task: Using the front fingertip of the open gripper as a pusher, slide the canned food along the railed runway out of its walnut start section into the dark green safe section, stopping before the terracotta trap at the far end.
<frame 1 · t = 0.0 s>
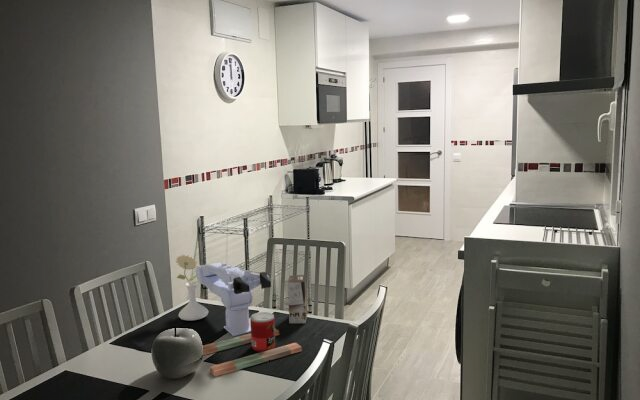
hand: (259, 286, 171), 22 cm above the table, tool horizontal, fingers open, 7 cm apart
flower in vase: (192, 317, 204), on the table
coffee box: (298, 319, 199), on the table
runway: (247, 351, 172), on the table
canned food: (263, 347, 175), on the table
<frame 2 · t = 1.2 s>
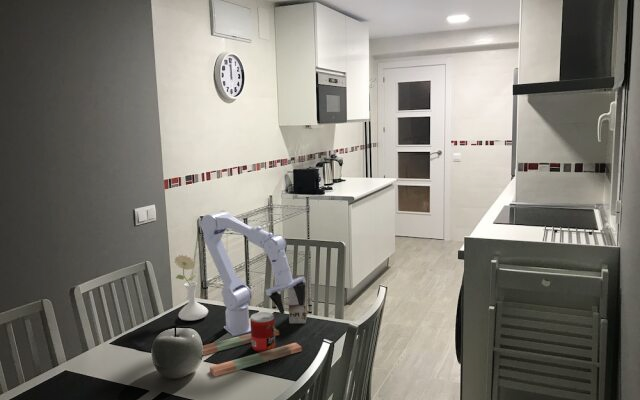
hand: (292, 309, 178), 11 cm above the table, tool tilted 15°, fingers open, 7 cm apart
nothing on the table moved.
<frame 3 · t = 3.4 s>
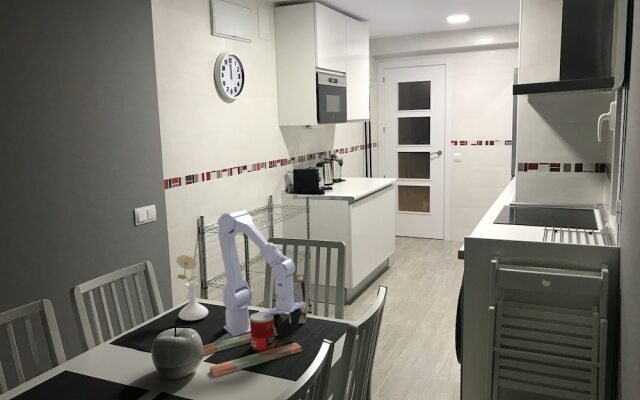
hand: (286, 332, 179), 3 cm above the table, tool pointing down, fingers open, 5 cm apart
canned food: (263, 347, 175), on the table, touching gripper
everything else where it was.
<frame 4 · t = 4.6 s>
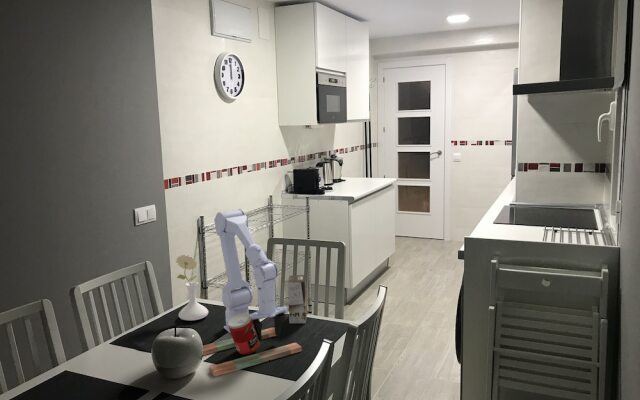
hand: (268, 337, 176), 3 cm above the table, tool pointing down, fingers open, 6 cm apart
canned food: (249, 348, 173), point 1 cm above the table, touching gripper
everything else where it was.
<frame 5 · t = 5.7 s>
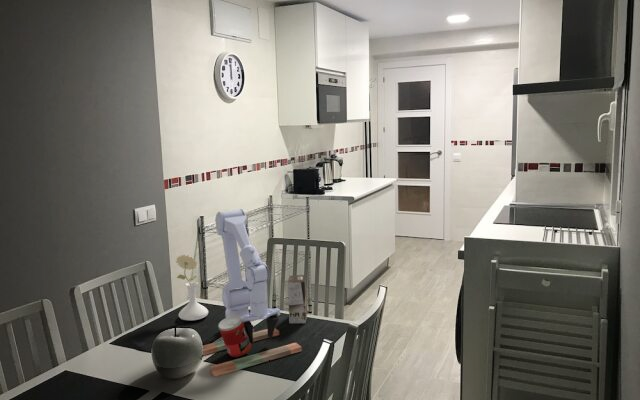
hand: (260, 339, 174), 3 cm above the table, tool pointing down, fingers open, 7 cm apart
canned food: (240, 350, 171), point 1 cm above the table, touching gripper
everything else where it was.
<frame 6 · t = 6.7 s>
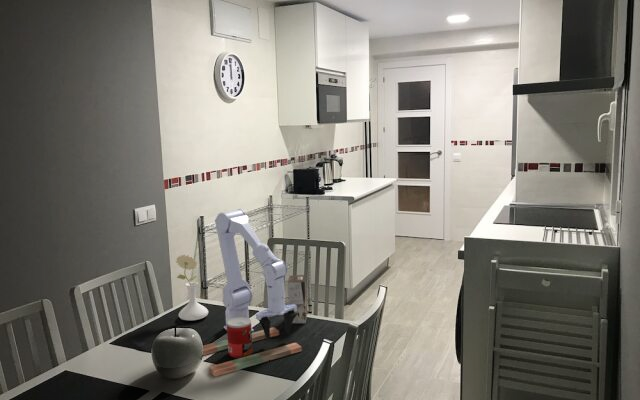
hand: (277, 335, 178), 3 cm above the table, tool pointing down, fingers open, 7 cm apart
canned food: (240, 353, 171), on the table
everything else where it was.
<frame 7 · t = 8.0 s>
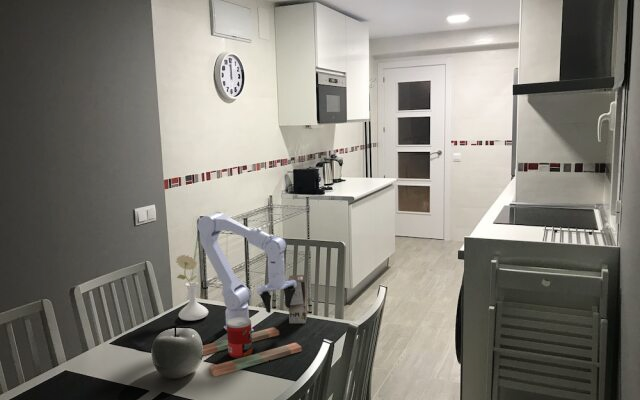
hand: (278, 309, 184), 9 cm above the table, tool pointing down, fingers open, 7 cm apart
nothing on the table moved.
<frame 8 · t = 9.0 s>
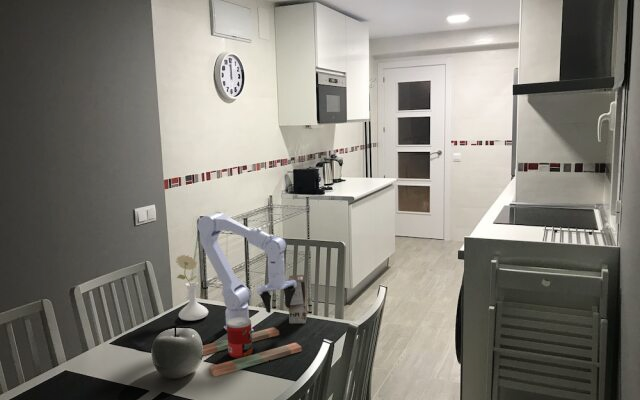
hand: (278, 309, 184), 9 cm above the table, tool pointing down, fingers open, 7 cm apart
nothing on the table moved.
at the end: canned food inside the target area (1.3 cm from its centre), on the table; canned food tilted 0° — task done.
